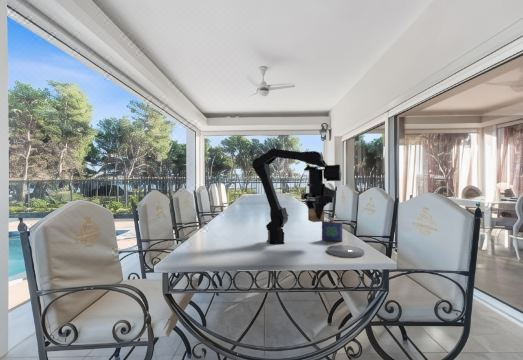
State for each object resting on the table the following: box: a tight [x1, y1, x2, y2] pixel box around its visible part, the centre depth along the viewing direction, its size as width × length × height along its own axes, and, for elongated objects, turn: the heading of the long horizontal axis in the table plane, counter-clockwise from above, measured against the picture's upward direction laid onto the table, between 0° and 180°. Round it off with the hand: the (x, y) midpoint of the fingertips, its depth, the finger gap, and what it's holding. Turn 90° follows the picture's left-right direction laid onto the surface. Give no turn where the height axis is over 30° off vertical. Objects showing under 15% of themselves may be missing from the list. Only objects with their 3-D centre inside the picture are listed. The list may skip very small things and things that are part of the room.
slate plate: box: [326, 244, 365, 259], centre depth 112 cm, size 14×14×1 cm
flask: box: [321, 217, 343, 243], centre depth 130 cm, size 9×3×11 cm, turn 74°
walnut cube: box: [307, 208, 325, 223], centre depth 120 cm, size 5×5×5 cm
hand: (316, 217), depth 120 cm, fingers closed on walnut cube, 5 cm apart
